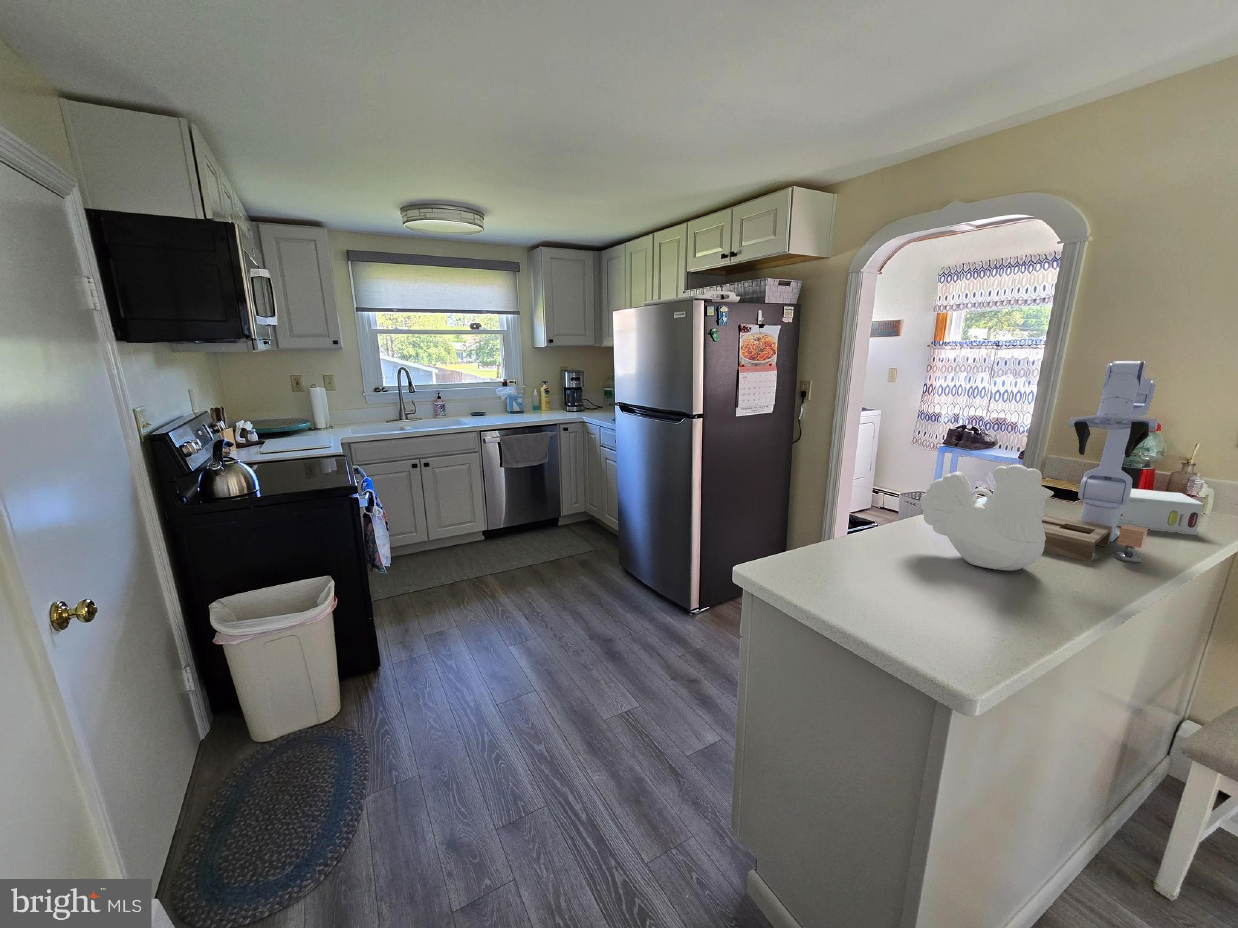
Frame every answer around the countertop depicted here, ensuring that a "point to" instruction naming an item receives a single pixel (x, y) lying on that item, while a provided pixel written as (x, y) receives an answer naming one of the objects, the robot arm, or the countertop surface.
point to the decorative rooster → (991, 517)
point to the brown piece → (1131, 542)
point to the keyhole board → (1074, 536)
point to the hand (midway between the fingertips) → (1103, 453)
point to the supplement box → (1161, 511)
